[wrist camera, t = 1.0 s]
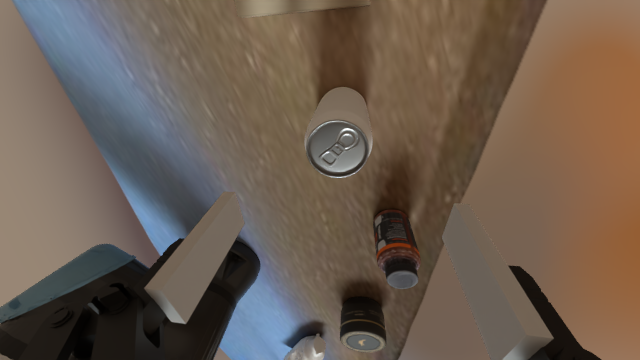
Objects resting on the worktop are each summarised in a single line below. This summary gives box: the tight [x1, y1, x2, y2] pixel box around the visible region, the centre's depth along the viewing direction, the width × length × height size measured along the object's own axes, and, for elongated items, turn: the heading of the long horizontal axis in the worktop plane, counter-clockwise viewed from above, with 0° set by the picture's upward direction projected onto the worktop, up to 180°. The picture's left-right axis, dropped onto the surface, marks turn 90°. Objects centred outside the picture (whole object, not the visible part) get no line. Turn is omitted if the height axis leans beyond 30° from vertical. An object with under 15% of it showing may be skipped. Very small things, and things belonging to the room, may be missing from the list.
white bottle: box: [284, 334, 326, 360], centre depth 65 cm, size 8×19×8 cm, turn 156°
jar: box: [340, 297, 386, 352], centre depth 52 cm, size 10×10×8 cm
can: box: [305, 87, 373, 178], centre depth 25 cm, size 6×6×12 cm
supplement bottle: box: [373, 209, 421, 289], centre depth 34 cm, size 6×6×11 cm
